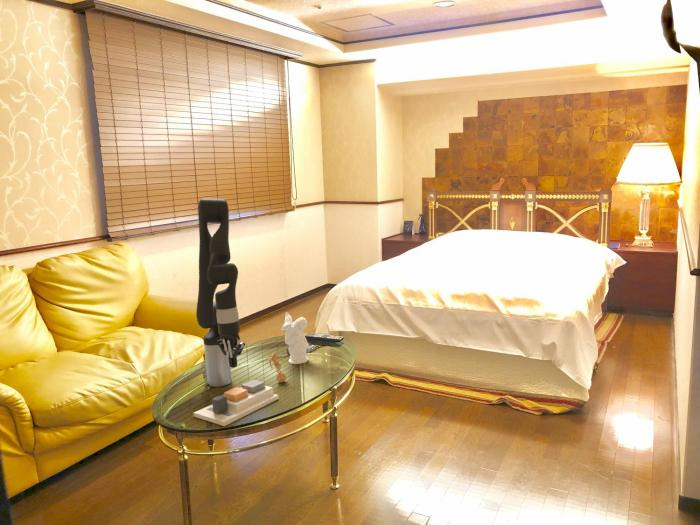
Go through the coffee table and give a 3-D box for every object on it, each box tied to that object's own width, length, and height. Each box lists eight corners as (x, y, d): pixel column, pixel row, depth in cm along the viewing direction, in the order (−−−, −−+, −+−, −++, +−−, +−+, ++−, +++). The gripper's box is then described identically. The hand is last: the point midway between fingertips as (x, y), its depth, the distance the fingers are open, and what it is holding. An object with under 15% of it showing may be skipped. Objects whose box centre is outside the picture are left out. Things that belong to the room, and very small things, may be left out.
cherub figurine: (314, 361, 253) (310, 312, 250) (292, 369, 245) (288, 319, 241) (296, 355, 262) (292, 309, 258) (274, 363, 253) (270, 315, 249)
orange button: (224, 401, 206) (223, 392, 206) (237, 395, 211) (236, 387, 210) (235, 404, 203) (234, 395, 202) (248, 398, 207) (247, 389, 207)
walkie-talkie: (298, 358, 260) (326, 345, 276) (297, 348, 259) (325, 336, 275) (284, 355, 265) (312, 343, 281) (283, 346, 264) (311, 334, 280)
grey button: (242, 392, 213) (241, 384, 212) (254, 387, 217) (253, 379, 217) (253, 395, 209) (252, 387, 209) (265, 390, 214) (264, 382, 213)
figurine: (280, 386, 225) (277, 357, 223) (267, 385, 228) (264, 356, 226) (291, 379, 232) (288, 350, 230) (279, 377, 235) (276, 349, 233)
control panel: (194, 416, 202) (192, 405, 201) (248, 391, 222) (247, 381, 222) (224, 426, 192) (222, 414, 192) (278, 398, 212) (277, 388, 212)
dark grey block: (213, 412, 200) (211, 398, 199) (222, 408, 203) (220, 394, 202) (219, 414, 198) (217, 400, 197) (227, 410, 201) (226, 396, 200)
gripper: (248, 318, 201) (254, 366, 204) (223, 315, 209) (229, 361, 212) (232, 324, 195) (238, 372, 198) (207, 320, 203) (213, 367, 206)
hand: (233, 366), depth 205 cm, fingers closed
